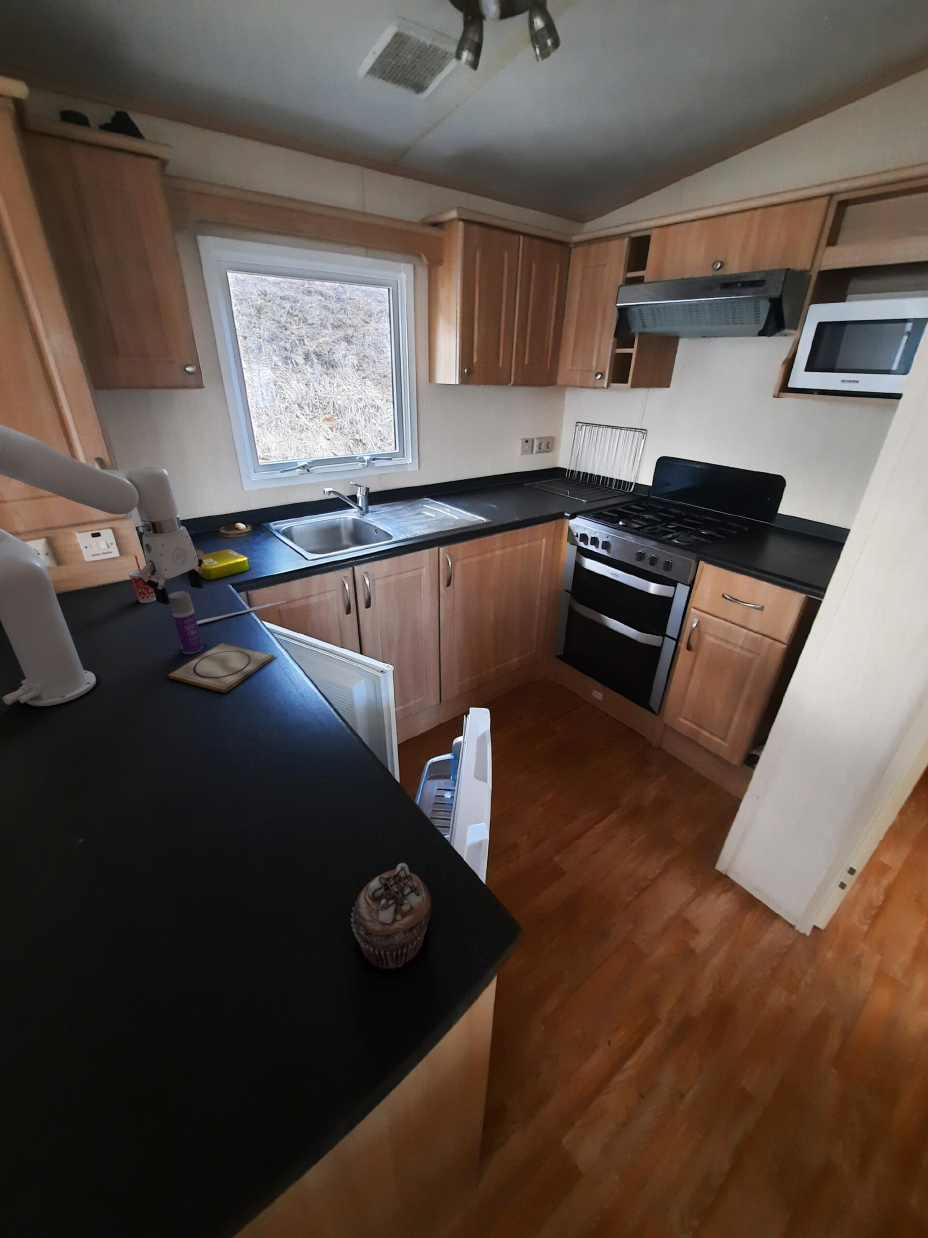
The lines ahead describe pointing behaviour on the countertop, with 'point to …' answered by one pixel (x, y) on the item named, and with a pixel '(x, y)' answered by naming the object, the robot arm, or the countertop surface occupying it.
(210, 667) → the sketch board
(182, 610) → the container
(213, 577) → the yellow flat square block
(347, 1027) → the countertop surface
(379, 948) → the cupcake
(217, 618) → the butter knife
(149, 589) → the beverage cup
